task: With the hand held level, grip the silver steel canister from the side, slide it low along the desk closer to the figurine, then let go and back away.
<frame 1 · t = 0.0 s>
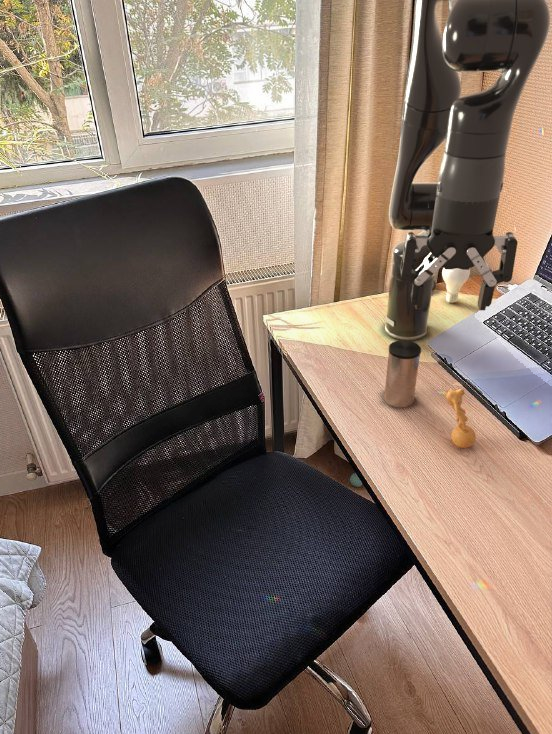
hand: (449, 307, 82), 29 cm above the table, tool pointing down, fingers open, 8 cm apart
figurine: (455, 445, 102), on the table
lightbulb: (451, 302, 145), on the table
canister: (398, 399, 114), on the table
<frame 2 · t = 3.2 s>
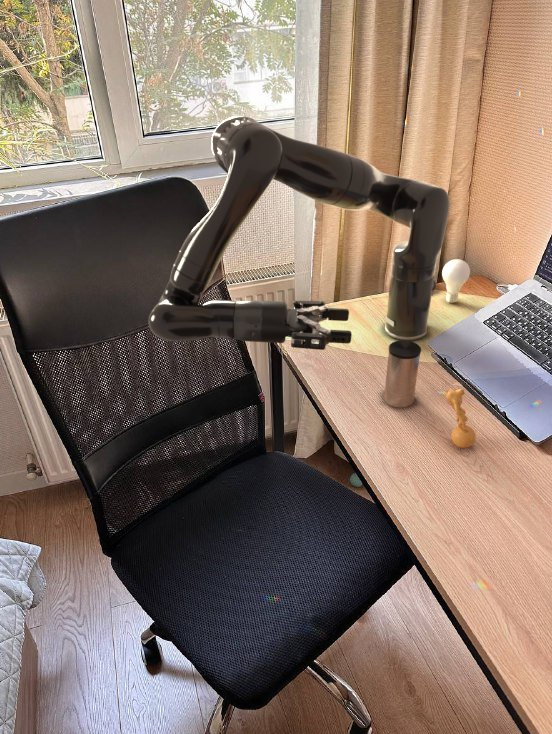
hand: (349, 325, 105), 16 cm above the table, tool horizontal, fingers open, 8 cm apart
nothing on the table moved.
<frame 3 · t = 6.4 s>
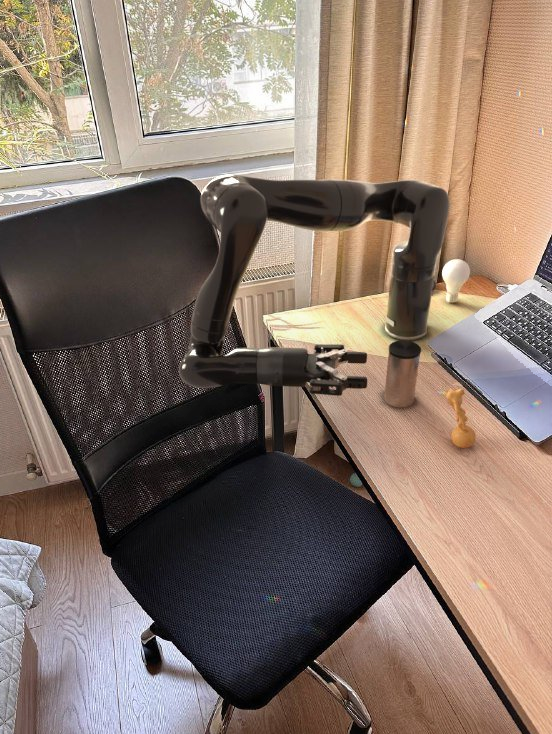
hand: (367, 369, 111), 6 cm above the table, tool horizontal, fingers open, 8 cm apart
nothing on the table moved.
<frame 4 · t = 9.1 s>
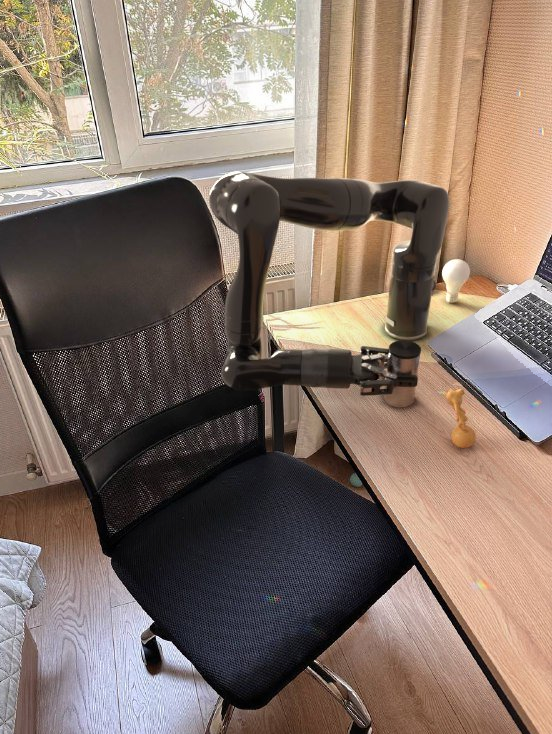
hand: (415, 371, 110), 7 cm above the table, tool horizontal, fingers closed on canister, 5 cm apart
canister: (398, 399, 114), on the table, touching gripper
everything else where it was.
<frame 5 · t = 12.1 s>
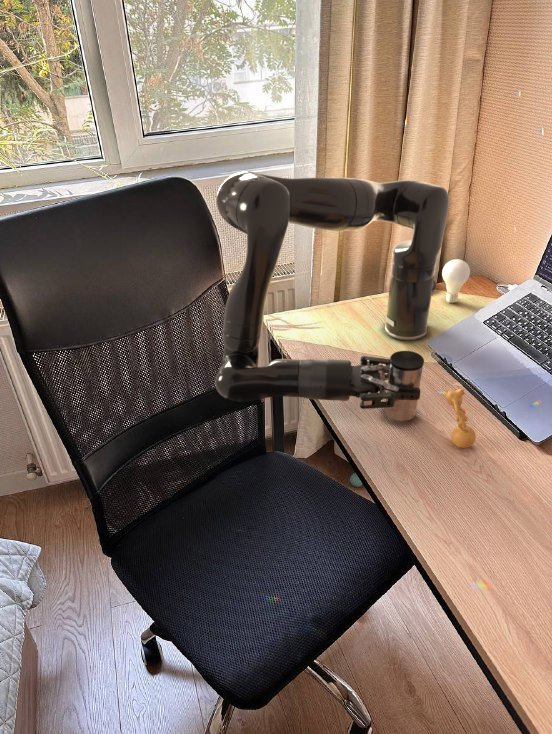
hand: (418, 383, 105), 7 cm above the table, tool horizontal, fingers closed on canister, 5 cm apart
canister: (400, 411, 109), point 1 cm above the table, touching gripper
everything else where it was.
when the fingers open (7 cm above the table, at t = 15.1 s): canister stays where it is, on the table.
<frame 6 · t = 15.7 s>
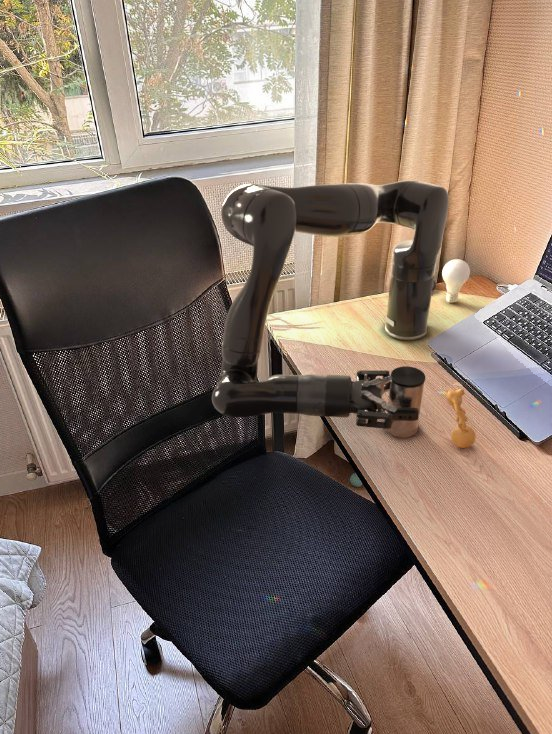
hand: (416, 399, 103), 7 cm above the table, tool horizontal, fingers open, 8 cm apart
canister: (401, 428, 107), on the table
everything else where it was.
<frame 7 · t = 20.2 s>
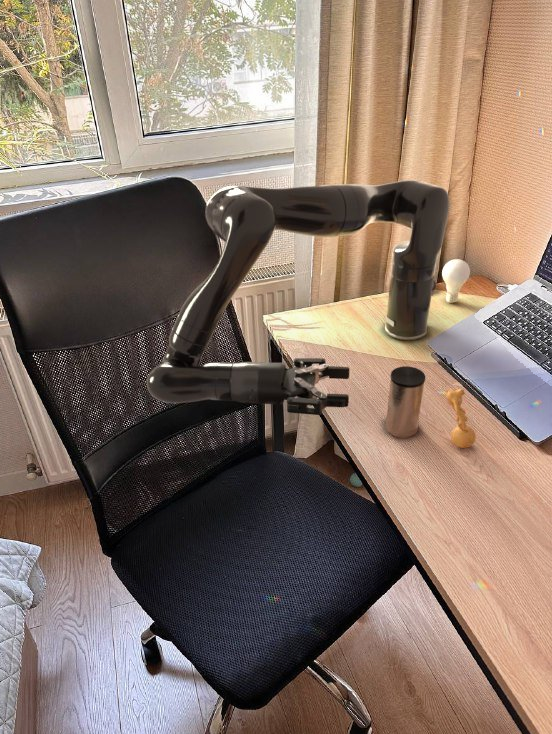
hand: (348, 386, 103), 9 cm above the table, tool horizontal, fingers open, 8 cm apart
nothing on the table moved.
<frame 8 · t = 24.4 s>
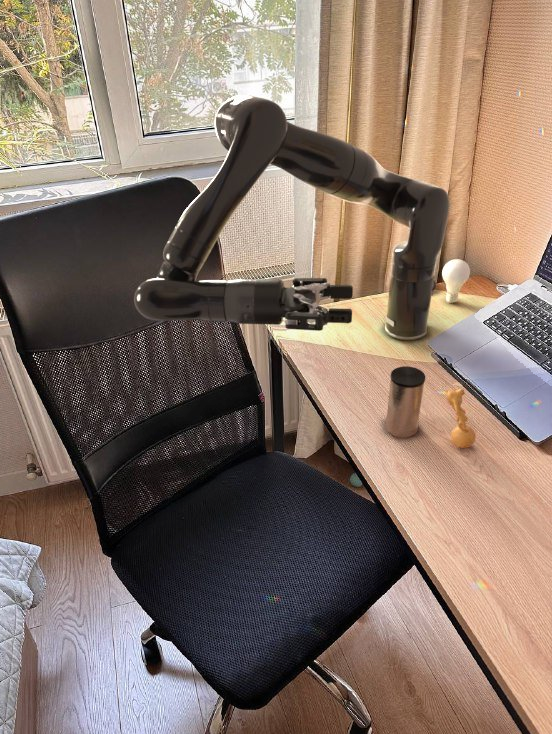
hand: (352, 303, 96), 24 cm above the table, tool horizontal, fingers open, 8 cm apart
nothing on the table moved.
at the end: canister 9.9 cm from the figurine (horizontally); canister tilted 0°; the gripper is holding nothing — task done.
